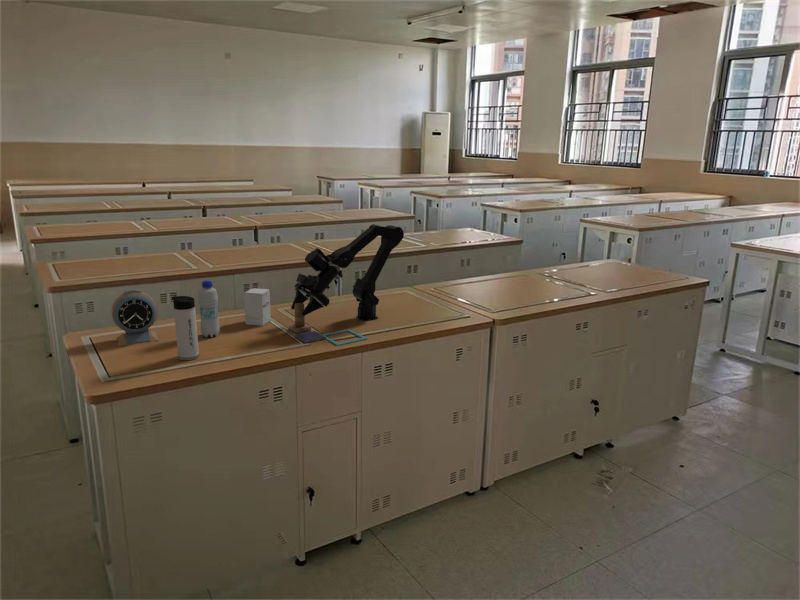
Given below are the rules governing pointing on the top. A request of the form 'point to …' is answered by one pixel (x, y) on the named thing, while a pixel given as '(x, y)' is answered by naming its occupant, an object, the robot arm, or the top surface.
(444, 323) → the top surface
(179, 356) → the travel mug
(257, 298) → the supplement box
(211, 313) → the bottle
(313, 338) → the ink pad
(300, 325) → the stamp
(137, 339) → the alarm clock
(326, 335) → the frame
